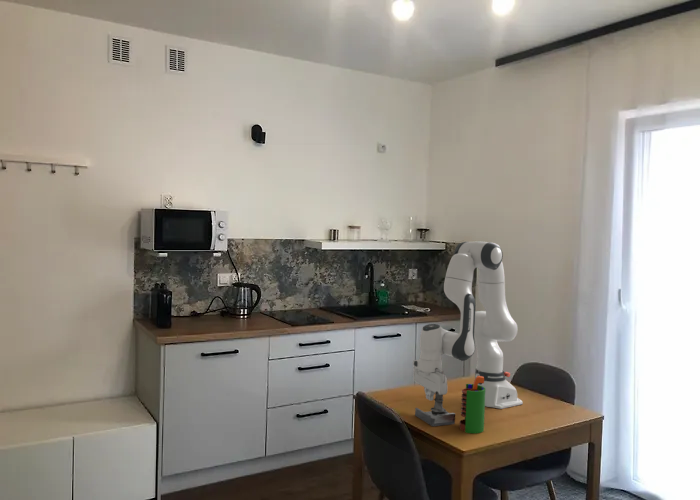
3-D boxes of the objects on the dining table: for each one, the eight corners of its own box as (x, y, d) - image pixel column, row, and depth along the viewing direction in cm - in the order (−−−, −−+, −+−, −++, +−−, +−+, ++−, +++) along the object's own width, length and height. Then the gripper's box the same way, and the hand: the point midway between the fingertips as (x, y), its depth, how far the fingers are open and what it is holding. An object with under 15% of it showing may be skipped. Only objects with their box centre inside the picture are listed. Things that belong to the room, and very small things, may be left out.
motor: (456, 423, 222) (459, 372, 221) (478, 424, 223) (481, 372, 222) (463, 433, 212) (466, 379, 211) (487, 433, 213) (490, 380, 212)
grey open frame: (415, 415, 230) (415, 405, 229) (436, 413, 234) (437, 403, 233) (432, 426, 218) (432, 416, 217) (454, 423, 222) (455, 413, 222)
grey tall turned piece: (447, 420, 221) (449, 390, 221) (433, 421, 220) (435, 390, 219) (441, 415, 227) (443, 385, 227) (427, 416, 226) (429, 386, 225)
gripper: (451, 371, 222) (450, 406, 223) (423, 358, 241) (423, 391, 242) (438, 372, 220) (437, 408, 220) (410, 360, 238) (410, 393, 239)
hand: (429, 399), depth 231 cm, fingers closed
